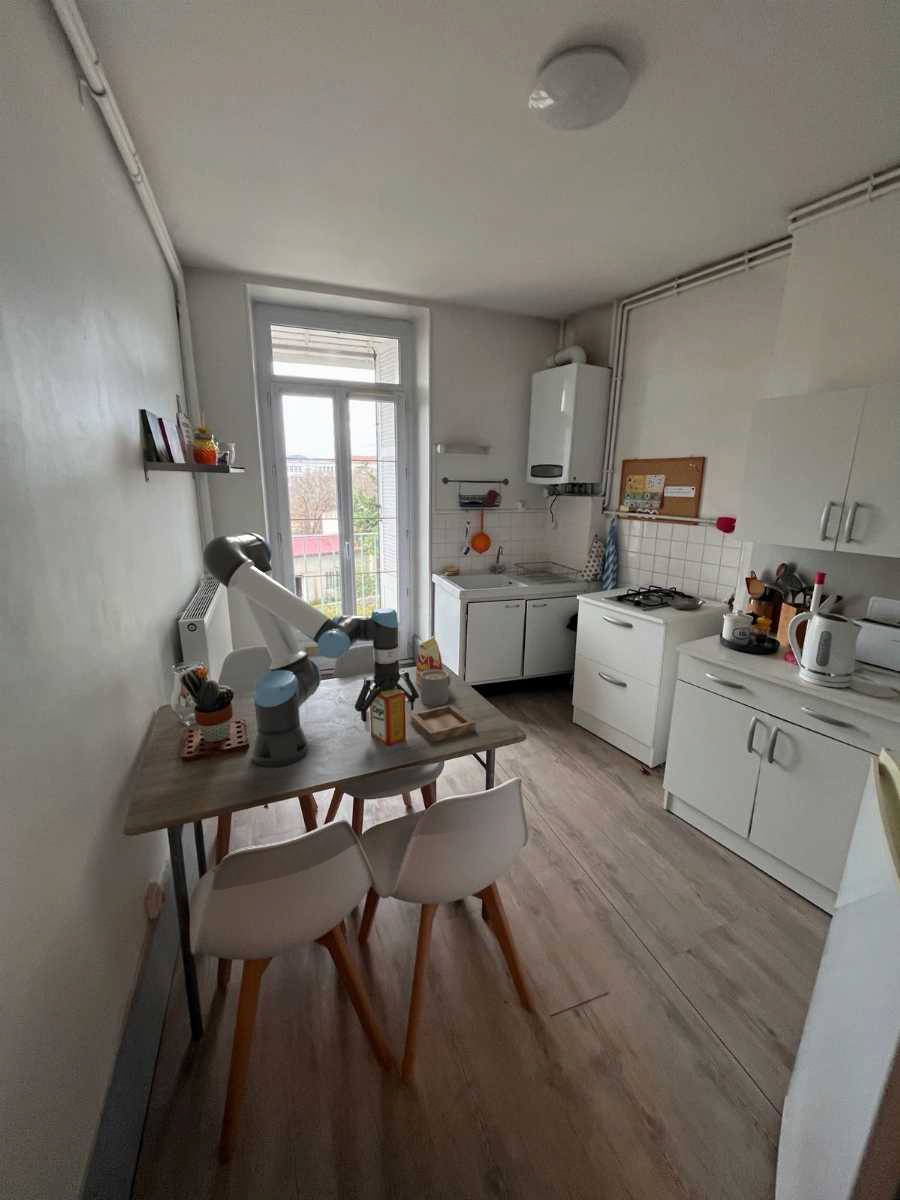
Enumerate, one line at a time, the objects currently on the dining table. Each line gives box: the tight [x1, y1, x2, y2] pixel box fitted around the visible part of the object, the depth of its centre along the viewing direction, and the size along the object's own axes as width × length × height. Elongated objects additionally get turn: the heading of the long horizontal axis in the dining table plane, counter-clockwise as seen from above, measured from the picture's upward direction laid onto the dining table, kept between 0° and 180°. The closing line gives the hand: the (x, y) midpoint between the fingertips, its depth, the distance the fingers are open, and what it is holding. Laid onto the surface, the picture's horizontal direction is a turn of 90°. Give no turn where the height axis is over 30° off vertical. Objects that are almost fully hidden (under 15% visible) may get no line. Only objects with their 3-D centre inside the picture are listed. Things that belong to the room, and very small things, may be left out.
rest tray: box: [409, 704, 476, 744], centre depth 157 cm, size 16×15×3 cm
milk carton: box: [415, 635, 444, 688], centre depth 189 cm, size 9×9×20 cm
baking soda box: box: [369, 686, 407, 747], centre depth 149 cm, size 10×6×16 cm
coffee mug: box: [420, 669, 451, 707], centre depth 177 cm, size 13×10×10 cm
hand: (388, 725), depth 150 cm, fingers open, 13 cm apart
